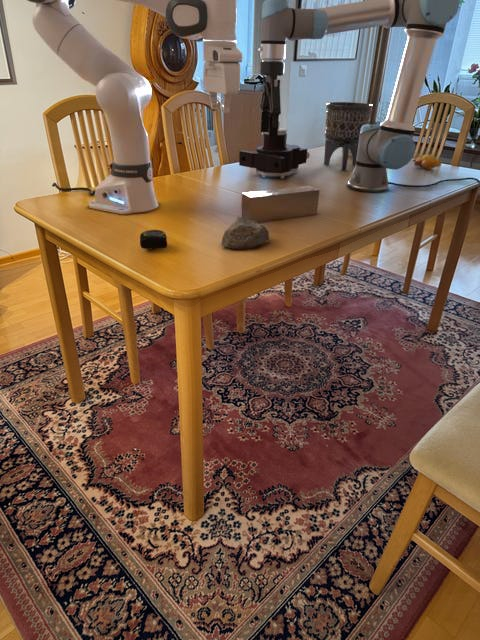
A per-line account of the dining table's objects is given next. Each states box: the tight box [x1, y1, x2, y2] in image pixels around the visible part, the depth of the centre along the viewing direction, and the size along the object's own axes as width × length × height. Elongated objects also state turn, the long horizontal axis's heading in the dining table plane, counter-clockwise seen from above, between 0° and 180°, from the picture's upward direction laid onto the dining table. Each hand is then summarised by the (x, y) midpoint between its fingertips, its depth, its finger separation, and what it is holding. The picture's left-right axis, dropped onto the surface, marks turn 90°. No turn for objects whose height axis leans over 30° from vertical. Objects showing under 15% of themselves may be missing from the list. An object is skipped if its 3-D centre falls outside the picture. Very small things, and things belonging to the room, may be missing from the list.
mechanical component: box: [238, 120, 311, 179], centre depth 191 cm, size 22×21×30 cm
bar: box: [241, 185, 320, 223], centre depth 142 cm, size 24×6×8 cm, turn 116°
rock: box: [221, 216, 270, 250], centre depth 119 cm, size 13×9×6 cm, turn 131°
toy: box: [412, 154, 442, 170], centre depth 212 cm, size 11×6×15 cm
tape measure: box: [139, 229, 168, 250], centre depth 117 cm, size 7×7×4 cm
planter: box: [323, 101, 374, 172], centre depth 204 cm, size 20×20×26 cm
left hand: (220, 110), depth 127 cm, fingers open, 8 cm apart
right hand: (268, 135), depth 149 cm, fingers open, 13 cm apart
